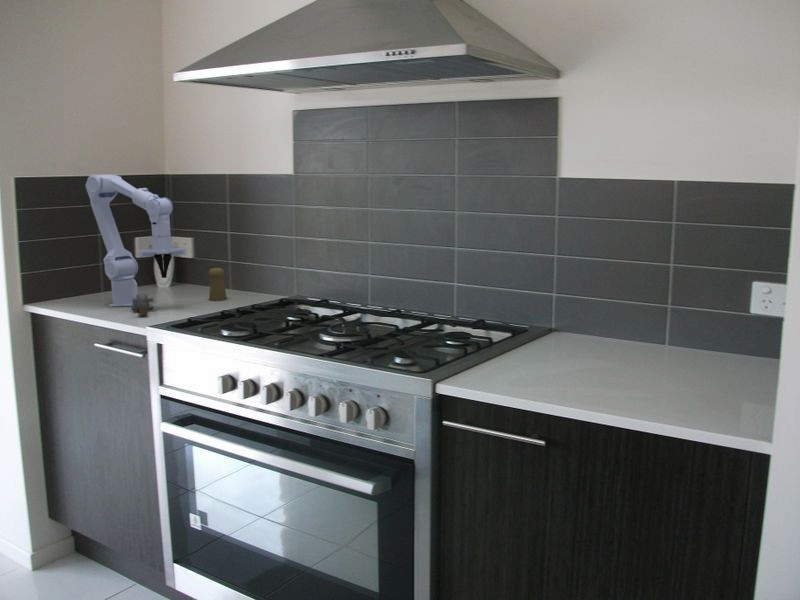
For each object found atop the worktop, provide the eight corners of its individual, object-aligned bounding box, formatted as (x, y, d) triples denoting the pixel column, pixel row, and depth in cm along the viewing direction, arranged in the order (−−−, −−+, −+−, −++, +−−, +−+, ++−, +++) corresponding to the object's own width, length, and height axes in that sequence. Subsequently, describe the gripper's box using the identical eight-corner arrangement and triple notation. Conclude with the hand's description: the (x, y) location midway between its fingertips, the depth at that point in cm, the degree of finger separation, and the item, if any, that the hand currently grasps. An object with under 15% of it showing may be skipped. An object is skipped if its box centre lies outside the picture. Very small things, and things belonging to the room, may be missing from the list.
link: (135, 305, 264) (133, 287, 263) (149, 304, 265) (147, 286, 264) (135, 315, 247) (134, 296, 246) (150, 314, 248) (149, 295, 247)
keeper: (133, 311, 258) (132, 298, 258) (153, 309, 260) (153, 297, 260) (133, 312, 256) (132, 299, 255) (154, 311, 258) (153, 298, 257)
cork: (216, 301, 274) (215, 269, 272) (205, 300, 277) (203, 268, 275) (230, 299, 278) (228, 267, 276) (219, 297, 282) (217, 266, 280)
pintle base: (135, 306, 266) (134, 293, 265) (156, 306, 266) (155, 293, 265) (128, 310, 259) (127, 297, 259) (149, 310, 259) (148, 297, 258)
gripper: (138, 237, 252) (141, 280, 254) (185, 235, 257) (188, 277, 259) (137, 236, 258) (140, 277, 261) (183, 234, 263) (186, 274, 266)
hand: (164, 277), depth 260 cm, fingers closed
